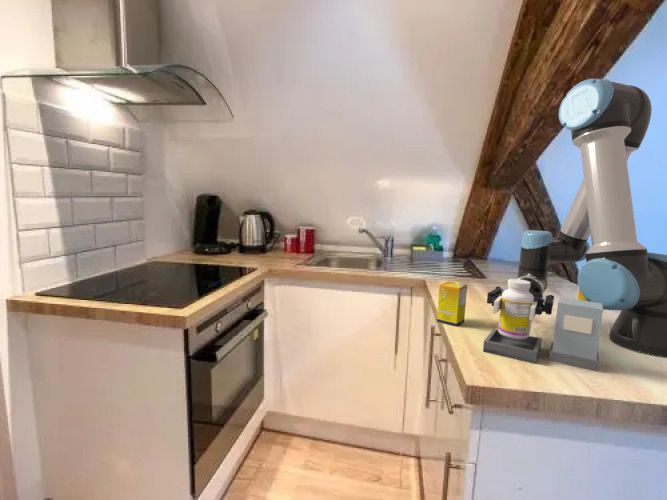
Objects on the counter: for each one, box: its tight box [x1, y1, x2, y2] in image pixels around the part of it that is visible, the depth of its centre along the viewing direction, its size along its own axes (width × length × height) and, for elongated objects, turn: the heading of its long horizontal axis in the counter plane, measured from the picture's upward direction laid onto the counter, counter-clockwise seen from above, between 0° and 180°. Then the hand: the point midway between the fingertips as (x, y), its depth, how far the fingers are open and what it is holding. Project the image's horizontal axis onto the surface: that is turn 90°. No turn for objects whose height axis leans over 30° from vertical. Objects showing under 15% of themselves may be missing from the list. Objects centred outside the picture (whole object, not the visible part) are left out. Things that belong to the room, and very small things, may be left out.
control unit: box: [548, 296, 604, 372], centre depth 84 cm, size 9×7×13 cm
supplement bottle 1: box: [498, 278, 534, 339], centre depth 89 cm, size 7×7×13 cm
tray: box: [482, 328, 543, 365], centre depth 90 cm, size 11×11×2 cm
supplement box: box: [436, 281, 468, 327], centre depth 109 cm, size 6×6×11 cm
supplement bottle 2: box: [575, 285, 589, 302], centre depth 131 cm, size 5×5×10 cm
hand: (513, 310), depth 84 cm, fingers closed on supplement bottle 1, 7 cm apart
